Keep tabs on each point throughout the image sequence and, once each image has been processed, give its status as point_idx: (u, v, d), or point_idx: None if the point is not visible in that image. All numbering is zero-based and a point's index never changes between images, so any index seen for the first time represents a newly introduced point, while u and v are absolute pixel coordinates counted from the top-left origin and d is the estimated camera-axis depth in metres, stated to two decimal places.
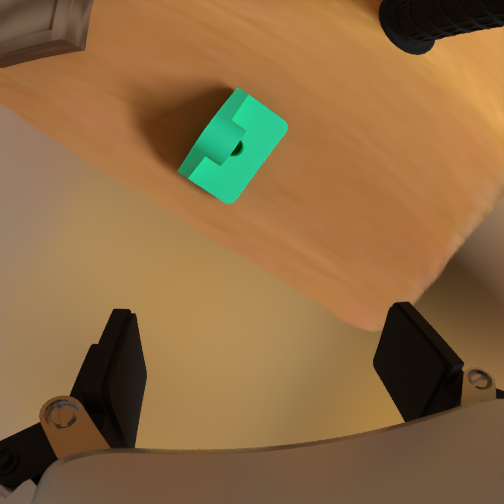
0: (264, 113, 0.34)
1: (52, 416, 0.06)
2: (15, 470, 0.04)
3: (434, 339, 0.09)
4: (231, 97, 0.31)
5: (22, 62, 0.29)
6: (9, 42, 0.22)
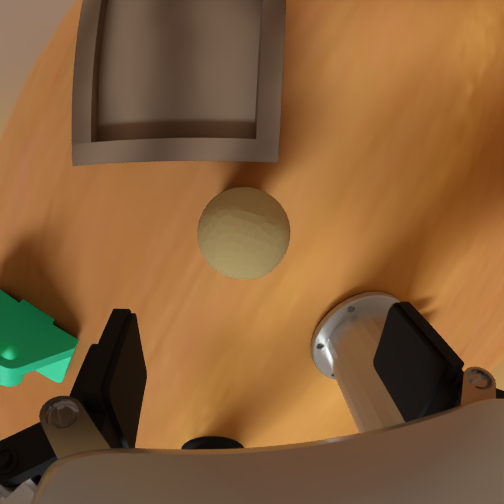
0: (60, 367, 0.31)
1: (52, 416, 0.06)
2: (15, 470, 0.04)
3: (434, 339, 0.09)
4: (52, 356, 0.27)
5: None
6: (91, 53, 0.16)
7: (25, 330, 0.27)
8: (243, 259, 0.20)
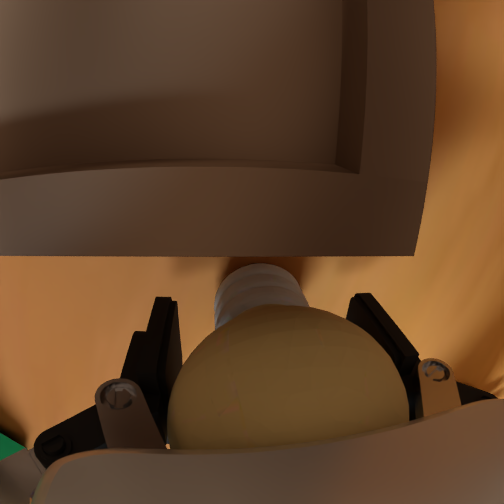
0: None
1: (108, 399, 0.07)
2: None
3: (390, 329, 0.09)
4: None
5: None
6: None
7: None
8: None
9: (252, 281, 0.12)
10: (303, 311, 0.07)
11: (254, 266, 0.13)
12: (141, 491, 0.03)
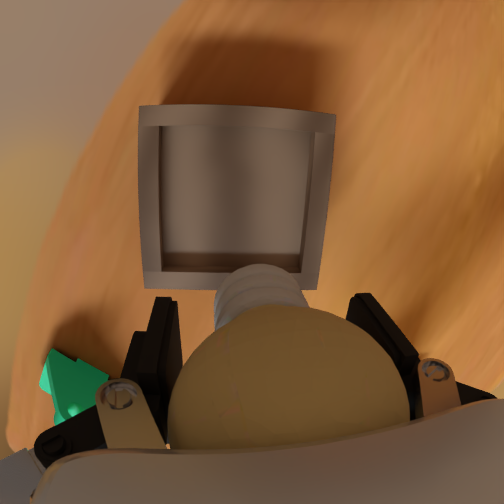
0: None
1: (108, 399, 0.07)
2: None
3: (390, 329, 0.09)
4: None
5: None
6: (155, 191, 0.22)
7: (86, 389, 0.32)
8: None
9: (252, 282, 0.12)
10: (303, 312, 0.07)
11: (254, 267, 0.13)
12: (141, 491, 0.03)
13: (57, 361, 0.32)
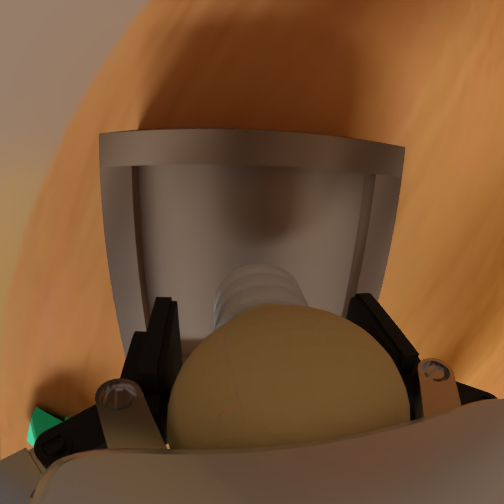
0: None
1: (108, 399, 0.07)
2: None
3: (390, 329, 0.09)
4: None
5: None
6: (133, 266, 0.14)
7: None
8: None
9: (251, 281, 0.12)
10: (303, 311, 0.07)
11: (254, 267, 0.13)
12: (141, 491, 0.03)
13: (42, 422, 0.25)
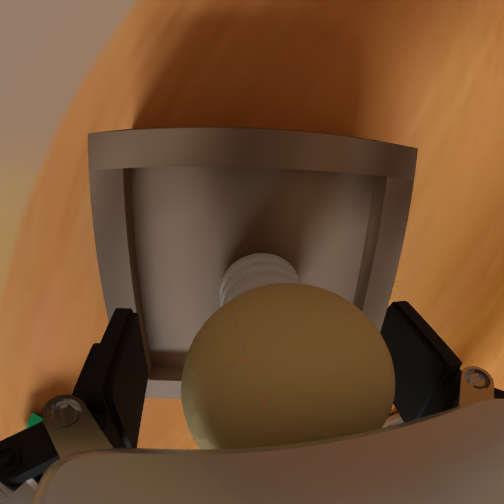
0: None
1: (55, 415, 0.06)
2: (17, 469, 0.04)
3: (432, 338, 0.09)
4: None
5: None
6: (126, 276, 0.13)
7: None
8: None
9: (254, 267, 0.13)
10: (298, 285, 0.09)
11: (255, 255, 0.14)
12: (141, 491, 0.03)
13: None
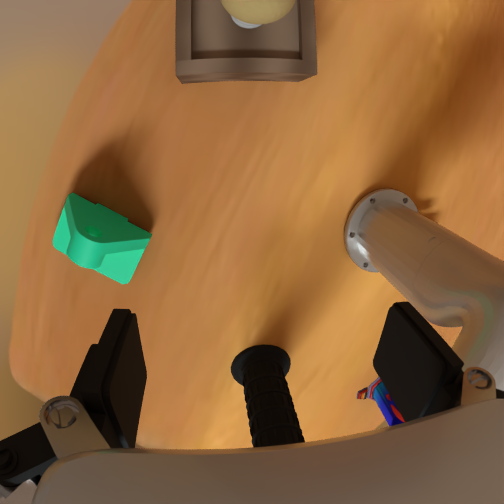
0: (131, 263, 0.39)
1: (52, 416, 0.06)
2: (15, 470, 0.04)
3: (434, 339, 0.09)
4: (133, 241, 0.35)
5: None
6: (188, 4, 0.24)
7: (105, 221, 0.35)
8: None
9: None
10: None
11: None
12: (141, 491, 0.03)
13: (77, 200, 0.35)
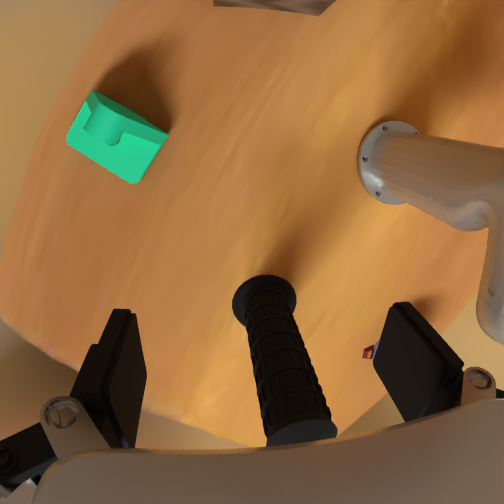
0: (144, 161, 0.37)
1: (52, 416, 0.06)
2: (15, 470, 0.04)
3: (434, 339, 0.09)
4: (151, 129, 0.33)
5: None
6: None
7: (126, 111, 0.33)
8: None
9: None
10: None
11: None
12: (141, 491, 0.03)
13: (100, 94, 0.33)
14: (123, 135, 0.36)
